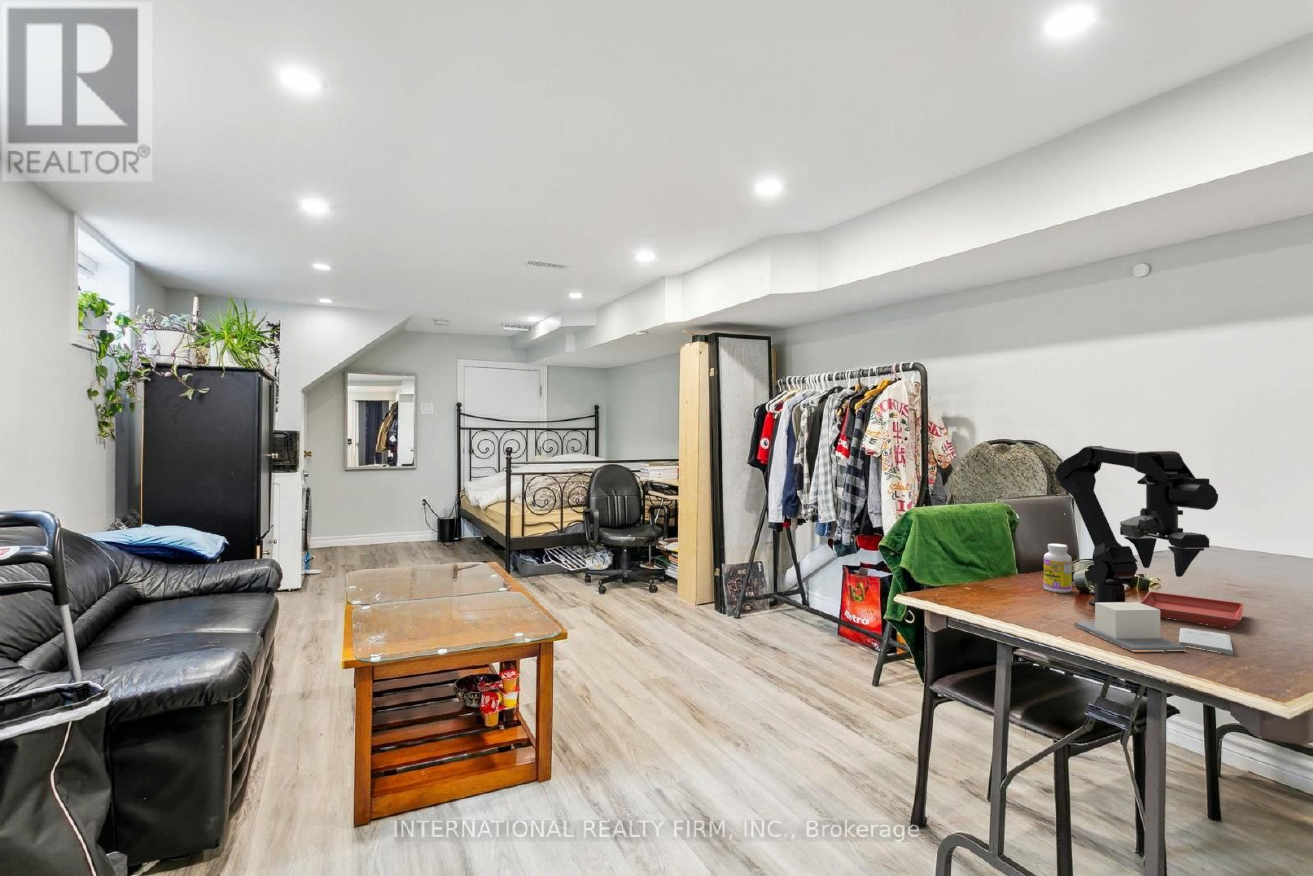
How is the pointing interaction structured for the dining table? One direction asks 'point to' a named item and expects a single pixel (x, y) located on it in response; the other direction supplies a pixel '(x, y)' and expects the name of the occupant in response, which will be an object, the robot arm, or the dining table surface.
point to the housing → (1127, 620)
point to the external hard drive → (1206, 640)
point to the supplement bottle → (1058, 569)
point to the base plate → (1134, 640)
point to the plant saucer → (1195, 609)
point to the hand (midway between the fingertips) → (1162, 572)
